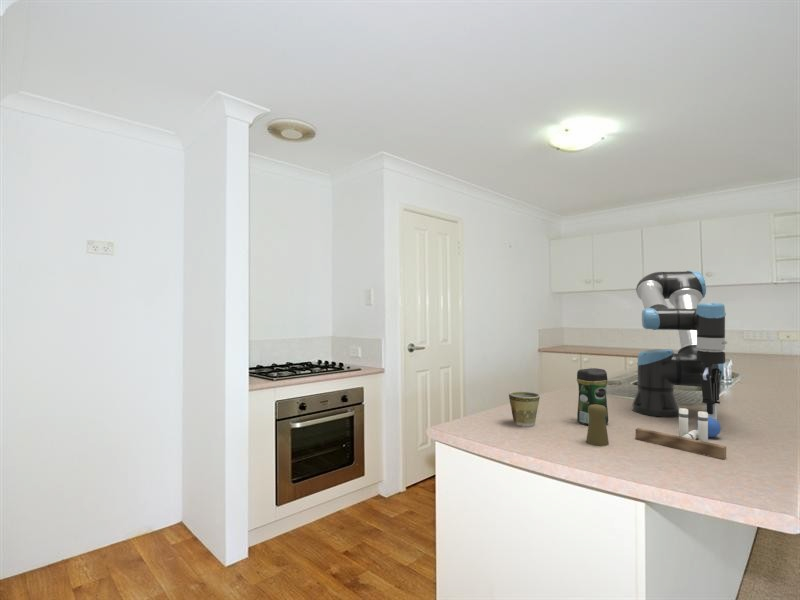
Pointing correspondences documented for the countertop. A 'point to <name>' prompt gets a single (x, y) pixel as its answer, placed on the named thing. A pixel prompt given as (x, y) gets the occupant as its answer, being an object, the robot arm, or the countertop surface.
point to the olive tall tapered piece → (597, 426)
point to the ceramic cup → (524, 407)
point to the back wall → (681, 443)
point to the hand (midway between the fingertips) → (711, 423)
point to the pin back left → (683, 421)
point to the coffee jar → (591, 392)
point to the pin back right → (702, 426)
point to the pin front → (691, 434)
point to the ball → (713, 427)
